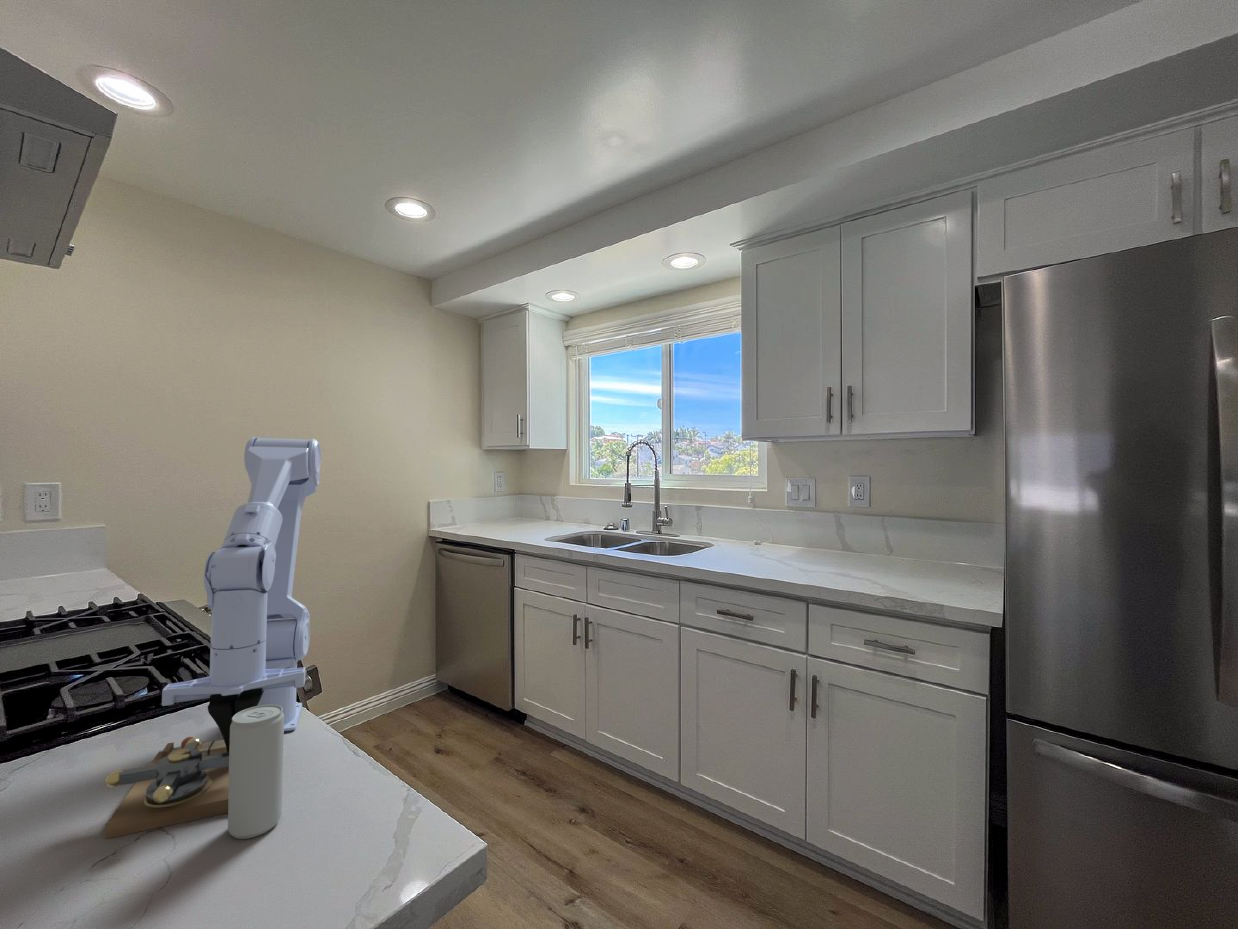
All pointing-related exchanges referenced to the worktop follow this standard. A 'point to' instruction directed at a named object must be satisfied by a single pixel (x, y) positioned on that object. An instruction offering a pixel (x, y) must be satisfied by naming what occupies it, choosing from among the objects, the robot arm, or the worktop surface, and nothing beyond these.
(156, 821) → the valve wheel board
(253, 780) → the beverage can
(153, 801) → the capstan
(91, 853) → the worktop surface
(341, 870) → the worktop surface
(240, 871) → the worktop surface
